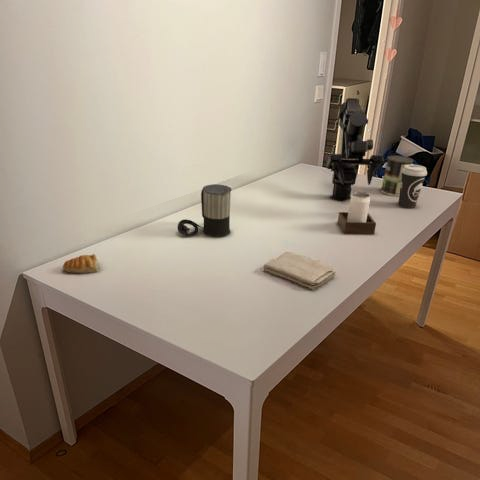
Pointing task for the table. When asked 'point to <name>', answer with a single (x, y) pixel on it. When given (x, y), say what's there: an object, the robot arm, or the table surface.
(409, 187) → the coffee cup
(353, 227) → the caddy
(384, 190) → the coffee can
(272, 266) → the washcloth
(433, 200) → the table surface
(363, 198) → the can
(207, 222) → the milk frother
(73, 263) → the pastry
